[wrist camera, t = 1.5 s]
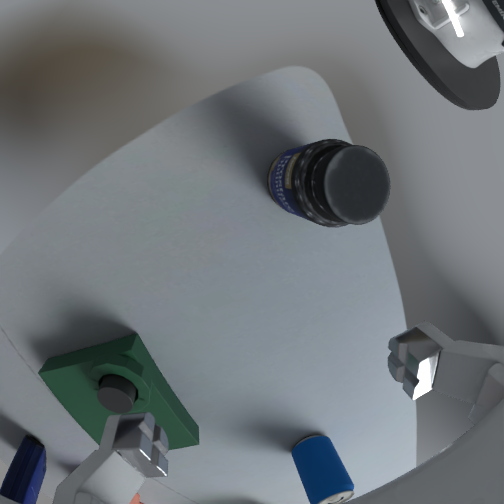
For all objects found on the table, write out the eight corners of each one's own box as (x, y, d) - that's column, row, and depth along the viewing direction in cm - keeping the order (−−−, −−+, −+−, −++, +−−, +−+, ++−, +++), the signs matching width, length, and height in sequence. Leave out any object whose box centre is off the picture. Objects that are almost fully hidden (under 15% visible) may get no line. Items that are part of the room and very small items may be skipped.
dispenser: (46, 356, 25) (30, 380, 20) (138, 330, 26) (128, 357, 21) (114, 440, 30) (108, 465, 25) (200, 426, 31) (201, 454, 26)
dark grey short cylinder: (95, 377, 22) (89, 390, 20) (124, 370, 22) (119, 384, 20) (114, 402, 23) (110, 415, 21) (142, 397, 23) (140, 411, 21)
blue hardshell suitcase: (49, 470, 30) (30, 538, 11) (28, 458, 29) (5, 524, 10) (48, 443, 29) (21, 527, 9) (23, 428, 27) (-10, 508, 8)
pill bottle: (259, 155, 24) (300, 137, 14) (320, 144, 25) (390, 128, 14) (274, 220, 26) (321, 248, 15) (332, 206, 26) (404, 224, 16)
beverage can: (298, 459, 36) (319, 513, 25) (284, 445, 35) (306, 506, 23) (333, 442, 37) (360, 495, 25) (322, 426, 35) (352, 485, 23)
